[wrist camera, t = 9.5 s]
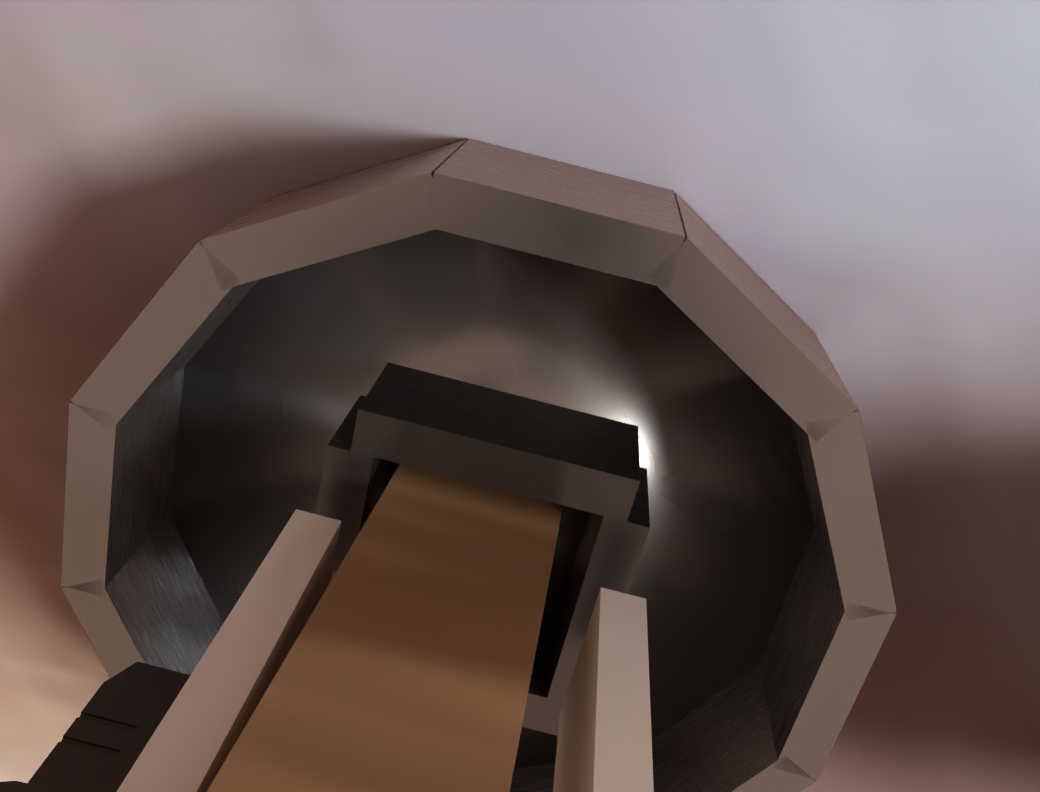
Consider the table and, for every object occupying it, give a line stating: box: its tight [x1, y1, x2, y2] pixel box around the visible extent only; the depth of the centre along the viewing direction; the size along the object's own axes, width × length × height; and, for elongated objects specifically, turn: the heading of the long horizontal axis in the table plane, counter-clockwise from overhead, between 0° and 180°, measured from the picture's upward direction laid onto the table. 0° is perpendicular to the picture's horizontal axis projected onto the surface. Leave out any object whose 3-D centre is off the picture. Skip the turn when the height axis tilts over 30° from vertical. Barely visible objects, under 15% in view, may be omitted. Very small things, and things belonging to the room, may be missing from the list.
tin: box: [61, 139, 897, 792], centre depth 18 cm, size 14×14×4 cm
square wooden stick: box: [207, 464, 563, 792], centre depth 13 cm, size 3×3×13 cm
